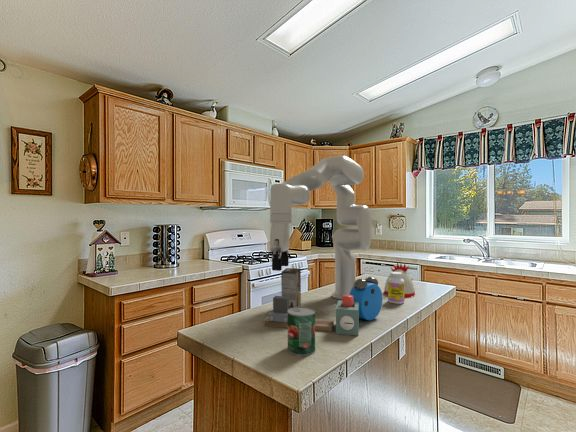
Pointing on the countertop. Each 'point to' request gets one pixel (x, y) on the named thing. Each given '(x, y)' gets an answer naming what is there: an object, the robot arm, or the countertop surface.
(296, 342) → the canned tomato
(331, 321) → the rail plank
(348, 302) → the plunger
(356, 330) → the cabinet
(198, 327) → the countertop surface
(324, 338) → the countertop surface
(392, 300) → the supplement bottle
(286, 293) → the coffee box
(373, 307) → the alarm clock
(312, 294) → the countertop surface
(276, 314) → the carriage
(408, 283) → the kitchen timer
